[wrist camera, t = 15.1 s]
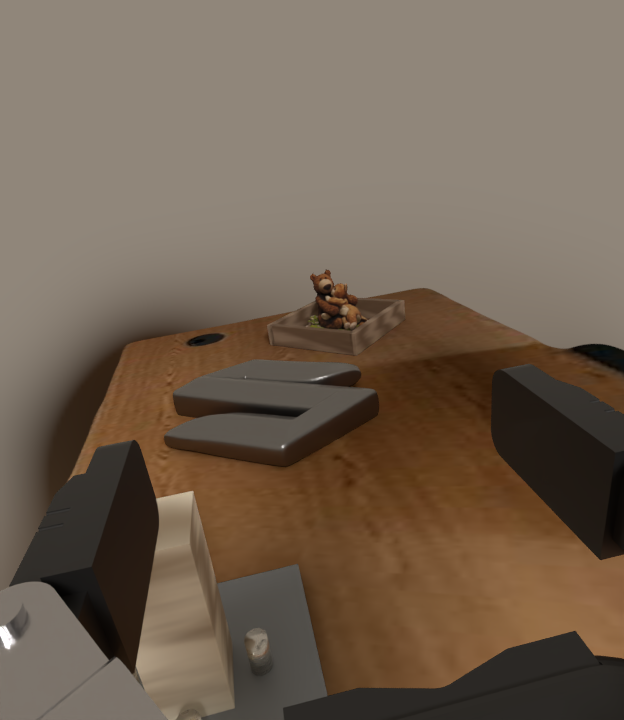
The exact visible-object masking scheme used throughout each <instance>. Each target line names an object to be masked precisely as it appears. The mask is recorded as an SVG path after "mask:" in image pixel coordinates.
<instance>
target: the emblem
mask: <svg viewBox="0 0 624 720" xmlns="http://www.w3.org/2000/svg"><path fill="white" fill-rule="evenodd" d="M360 378H361V372H360V370H359V368H358V367H357V366H355V365H352V364H347V363H334V362H294V361H274V360H251V361H248V362H245V363H242V364H238V365H235V366H232V367H229V368H226V369H223V370H220V371H217V372H214V373H210V374H207V375H204V376H201V377H198V378H196V379H195V380H193V381H191V382H190V383H188V384H186V385H184V386H183V387H181V388H179V389H177V390H175V391H174V393H173V400H174V405H175V408H176V411H177V413H178V415H181V416H188V417H195V418H196V419H193V420H191V421H188V422H186V423H183V424H181V425H179V426H177V427H175V428H173V429H171V430H169V431H168V432H167V433H166V434H165V436H164V440H165V443H166V445H167V446H169V447H171V448H177V449H184V450H191V451H197V452H202V453H207V454H211V455H216V456H222V457H227V458H233V459H239V460H245V461H251V462H257V463H264V464H270V465H276V466H289V465H291V464H293V463H295V462H297V461H299V460H301V459H303V458H304V457H306V456H308V455H310V454H312V453H313V452H315V451H317V450H319V449H321V448H322V447H324V446H326V445H328V444H330V443H331V442H333V441H335V440H337V439H338V438H340V437H342V436H344V435H345V434H347V433H349V432H350V431H352V430H354V429H356V428H357V427H359V426H361V425H362V424H364V423H366V422H367V421H369V420H371V419H372V418H374V417H375V416H377V415H378V412H379V399H378V395H377V392H376V391H375V390H373V389H368V388H357V387H349V386H351V385H353V384H355V383H356V382H357V381H358V380H359V379H360Z"/></svg>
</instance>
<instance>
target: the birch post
mask: <svg viewBox="0 0 624 720" xmlns="http://www.w3.org/2000/svg"><path fill="white" fill-rule="evenodd" d="M156 501H157V505H158V512H159V531H158V537H157V543H156V549H155V555H154V561H153V566H152V572H151V578H150V584H149V590H148V596H147V602H146V608H145V614H144V620H143V626H142V631H141V637H140V643H139V649H138V655H137V661H136V668H137V671H138V673H139V676H140V679H141V681H142V684H143V687H144V689H145V691H146V693H147V694H148V695H149V696H150V698H151V699H152V700H153V701H154V703H155V704H156V705H157V706H158V708H159V709H160V710H161V712H162V713H163V714H164V715H165V717H166V718H167V719H168V720H176V719H177V717H178V716H179V715H180V714H181V713H182V712H184V711H186V710H189V709H194V710H196V711H198V712H199V714H200V716H201V717H205V716H208V715H212V714H216V713H219V712H223V711H227V710H230V709H234V708H235V700H234V673H233V646H232V639H231V636H230V632H229V628H228V624H227V620H226V616H225V612H224V608H223V605H222V601H221V597H220V593H219V589H218V585H217V581H216V578H215V574H214V570H213V566H212V562H211V558H210V554H209V550H208V547H207V543H206V539H205V535H204V531H203V527H202V523H201V520H200V516H199V512H198V508H197V504H196V500H195V496H194V492H193V491H191V492H186V493H181V494H176V495H172V496H167V497H162V498H158V499H156Z"/></svg>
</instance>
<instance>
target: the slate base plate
mask: <svg viewBox="0 0 624 720" xmlns="http://www.w3.org/2000/svg"><path fill="white" fill-rule="evenodd" d="M217 585H218V589H219V593H220V597H221V601H222V605H223V608H224V612H225V616H226V620H227V624H228V628H229V632H230V636H231V639H232V646H233V673H234V700H235V708H234V709H230V710H227V711H223V712H219V713H216V714H212V715H208V716H205V717H201V716H200V714H199V712H198V711H196V710H194V709H189V710H186V711H184V712H182V713H181V714H180V715H179V716H178V717H177V719H176V720H284V714H283V708H284V707H288V706H292V705H296V704H299V703H303V702H307V701H311V700H315V699H318V698H322V697H326V696H327V691H326V687H325V682H324V678H323V673H322V669H321V664H320V660H319V655H318V651H317V646H316V642H315V638H314V633H313V629H312V624H311V620H310V615H309V611H308V606H307V602H306V597H305V593H304V588H303V584H302V579H301V575H300V571H299V566H298V564H295V565H291V566H287V567H283V568H279V569H275V570H271V571H267V572H263V573H258V574H254V575H250V576H246V577H242V578H238V579H234V580H230V581H226V582H221V583H217ZM132 675H133V676H134V678H135V679H136V680H137V681H138V683H139V684H140V685H141V686H142V688H143V689H144V687H143V684H142V681H141V679H140V676H139V673H138V671H137V668H136V667H135V673H133V674H132ZM144 690H145V689H144Z"/></svg>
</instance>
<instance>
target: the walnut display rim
mask: <svg viewBox="0 0 624 720" xmlns="http://www.w3.org/2000/svg"><path fill="white" fill-rule="evenodd" d="M357 299H358V303H357V305H356V307H357V308H358V310H359V311H360V313H361V315H362V316H363V317H365V318H370V319H369V320H368V321H366V322H365V323H363V324H362V325H360V326H359V327H357V328H356V329H354V330H353V331H347V330H336V329H325V328H314V327H305V326H307V325H309V322H308V321H309V320H311V319H310V317H311V316H313V315H317V316H318V304H317V303H316V301H314V302H312V303H310V304H308V305H306V306H304V307H302V308H300V309H298V310H297V311H294V312H292V313H290V314H288V315H286V316H284V317H282V318H281V319H279V320H277V321H275V322H273V323H271V324H269V325H267V328H268V334H269V340H270V345H276V346H284V347H292V348H300V349H308V350H316V351H324V352H332V353H340V354H348V355H356V356H357V355H358V354H360V353H361V352H362V351H364V350H365V349H366V348H368V347H369V346H370V345H372V344H373V343H374V342H376V341H377V340H378V339H380V338H381V337H382V336H384V335H385V334H386V333H388V332H389V331H390V330H391V329H393V328H394V327H395V326H397V325H398V324H399V323H401V322H402V321H403V320H405V305H404V300H389V299H368V298H357Z"/></svg>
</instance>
